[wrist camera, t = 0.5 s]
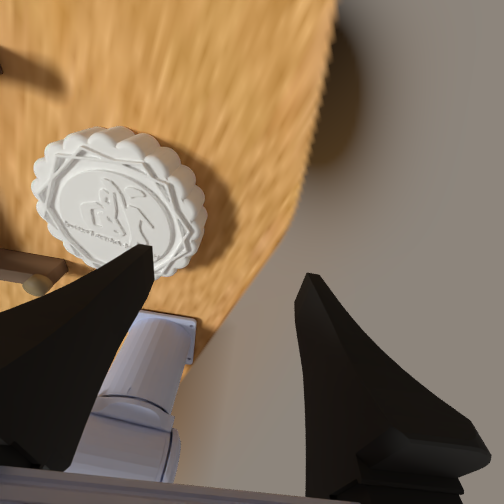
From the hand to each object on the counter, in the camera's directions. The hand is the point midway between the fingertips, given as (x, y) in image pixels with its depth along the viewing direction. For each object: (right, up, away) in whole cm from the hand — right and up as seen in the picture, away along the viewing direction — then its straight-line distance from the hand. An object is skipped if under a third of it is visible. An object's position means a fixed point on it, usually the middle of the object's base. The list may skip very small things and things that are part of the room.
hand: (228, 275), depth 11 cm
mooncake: (-9, +5, +9) cm, 13 cm away
